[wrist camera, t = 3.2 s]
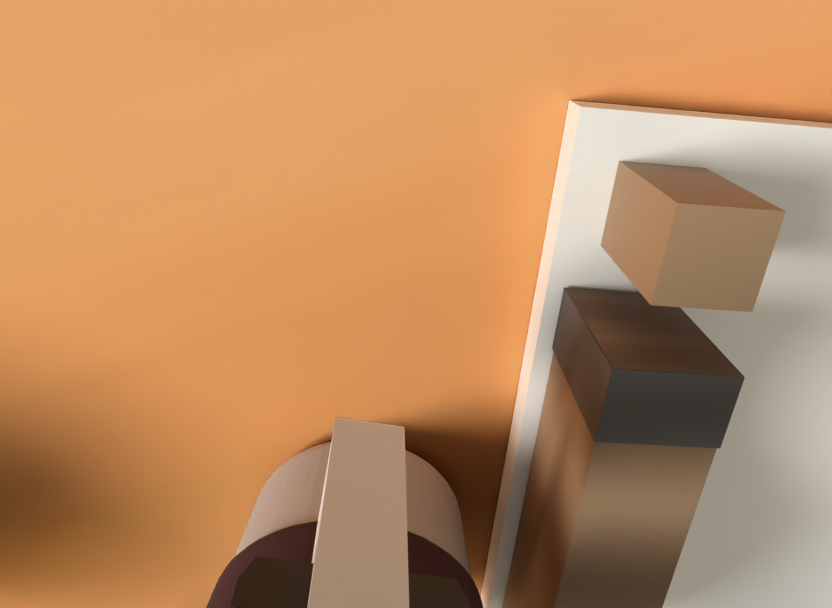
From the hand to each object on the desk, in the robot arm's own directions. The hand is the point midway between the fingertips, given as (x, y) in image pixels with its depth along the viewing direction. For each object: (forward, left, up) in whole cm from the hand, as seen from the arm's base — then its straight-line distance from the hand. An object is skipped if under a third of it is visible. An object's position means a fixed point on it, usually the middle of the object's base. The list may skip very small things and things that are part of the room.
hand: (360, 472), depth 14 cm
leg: (+4, +7, -6) cm, 10 cm away
